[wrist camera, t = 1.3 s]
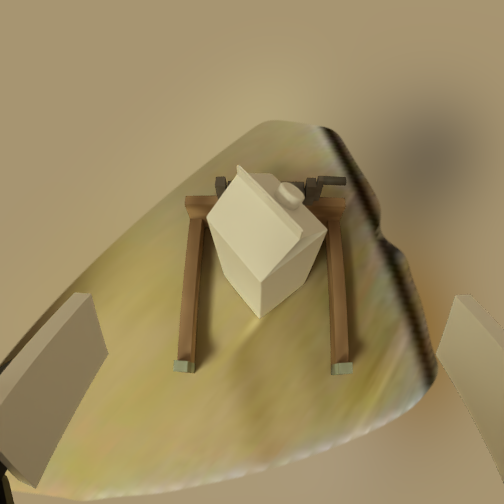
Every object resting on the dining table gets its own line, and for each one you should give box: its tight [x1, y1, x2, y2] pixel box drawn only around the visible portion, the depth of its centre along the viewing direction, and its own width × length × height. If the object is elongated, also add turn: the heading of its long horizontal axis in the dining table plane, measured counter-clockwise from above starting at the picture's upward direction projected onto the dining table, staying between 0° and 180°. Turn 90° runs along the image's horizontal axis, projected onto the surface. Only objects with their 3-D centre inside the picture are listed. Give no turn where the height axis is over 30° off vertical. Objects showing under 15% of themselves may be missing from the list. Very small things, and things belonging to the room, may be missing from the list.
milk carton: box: [206, 165, 327, 319], centre depth 31 cm, size 7×7×19 cm
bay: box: [173, 176, 353, 375], centre depth 34 cm, size 19×21×11 cm
